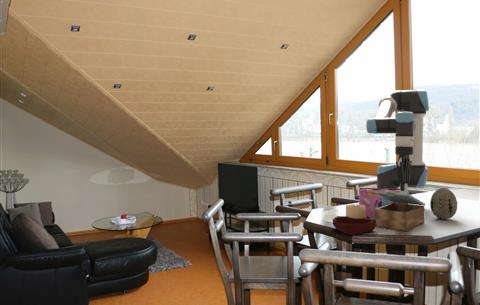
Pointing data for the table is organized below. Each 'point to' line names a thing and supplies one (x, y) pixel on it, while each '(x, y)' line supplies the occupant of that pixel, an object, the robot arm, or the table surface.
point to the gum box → (374, 199)
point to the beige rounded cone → (355, 211)
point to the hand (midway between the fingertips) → (403, 197)
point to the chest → (399, 216)
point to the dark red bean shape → (354, 225)
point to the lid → (400, 198)
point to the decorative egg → (443, 203)
